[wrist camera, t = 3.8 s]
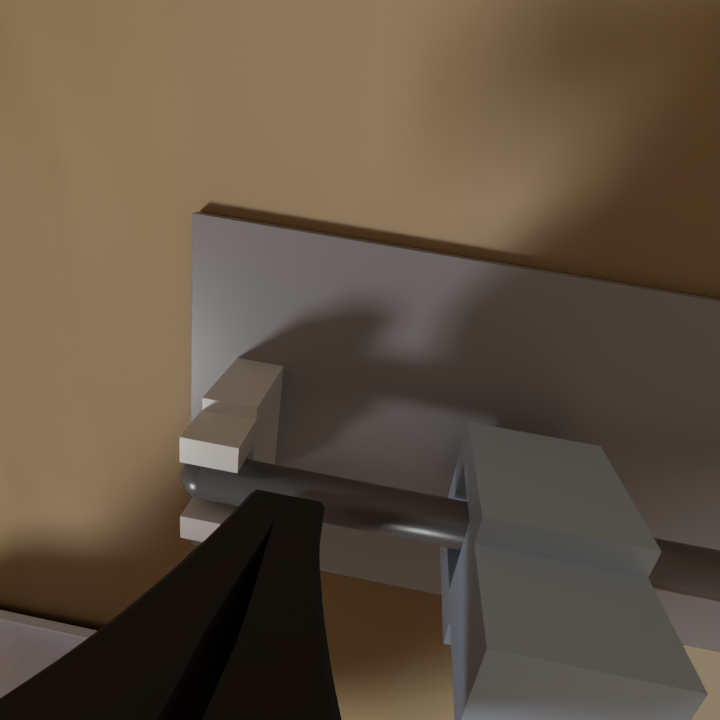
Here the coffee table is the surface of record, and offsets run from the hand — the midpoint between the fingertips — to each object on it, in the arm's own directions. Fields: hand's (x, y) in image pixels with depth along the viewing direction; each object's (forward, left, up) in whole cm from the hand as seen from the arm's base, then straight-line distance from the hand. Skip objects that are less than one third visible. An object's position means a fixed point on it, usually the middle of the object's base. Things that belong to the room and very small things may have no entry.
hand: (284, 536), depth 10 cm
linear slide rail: (+7, 0, -4) cm, 8 cm away
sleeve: (+5, 0, -3) cm, 6 cm away
